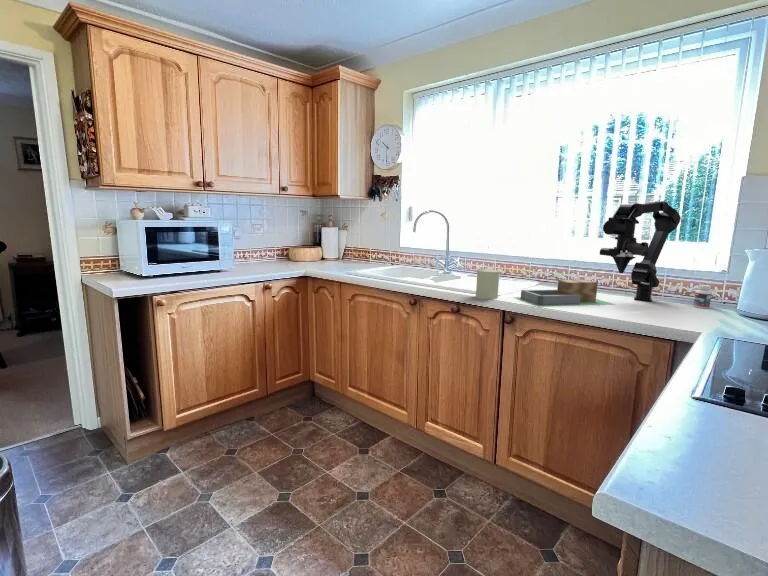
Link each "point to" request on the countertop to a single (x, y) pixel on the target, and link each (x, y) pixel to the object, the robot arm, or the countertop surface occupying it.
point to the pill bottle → (702, 296)
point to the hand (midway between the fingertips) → (621, 273)
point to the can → (487, 284)
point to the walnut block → (578, 289)
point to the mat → (598, 302)
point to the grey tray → (548, 297)
